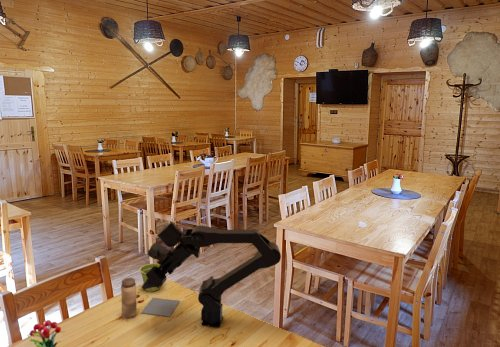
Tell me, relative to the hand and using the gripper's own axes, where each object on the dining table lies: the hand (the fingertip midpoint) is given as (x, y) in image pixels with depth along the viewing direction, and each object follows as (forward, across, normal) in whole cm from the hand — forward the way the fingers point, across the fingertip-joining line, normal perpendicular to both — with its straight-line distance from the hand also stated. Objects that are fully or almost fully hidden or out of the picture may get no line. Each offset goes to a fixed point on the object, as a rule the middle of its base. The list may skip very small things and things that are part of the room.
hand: (148, 281), depth 133 cm
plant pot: (+15, -20, +4) cm, 25 cm away
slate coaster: (+8, -7, +11) cm, 15 cm away
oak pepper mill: (+15, 0, +4) cm, 15 cm away
